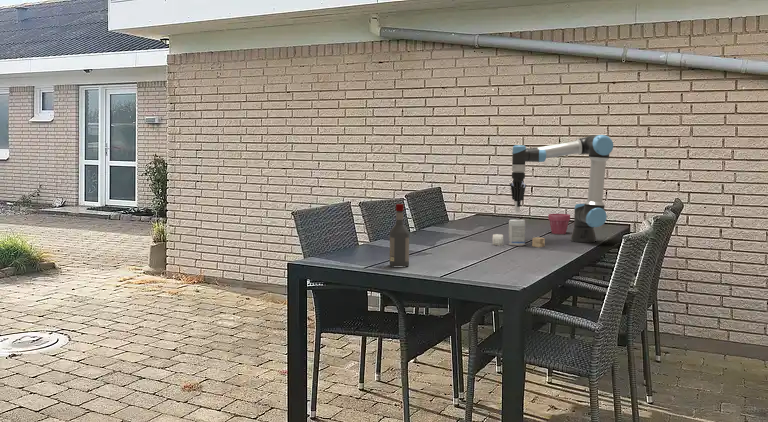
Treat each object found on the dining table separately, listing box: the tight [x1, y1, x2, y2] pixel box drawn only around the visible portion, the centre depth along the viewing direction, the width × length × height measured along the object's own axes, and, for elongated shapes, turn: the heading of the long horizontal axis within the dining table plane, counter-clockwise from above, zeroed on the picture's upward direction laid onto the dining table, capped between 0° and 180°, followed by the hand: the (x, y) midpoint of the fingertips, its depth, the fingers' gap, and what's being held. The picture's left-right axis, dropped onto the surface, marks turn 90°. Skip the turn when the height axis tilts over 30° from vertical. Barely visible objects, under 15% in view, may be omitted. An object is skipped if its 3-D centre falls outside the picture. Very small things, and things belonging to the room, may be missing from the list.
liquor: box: [389, 203, 410, 267], centre depth 345 cm, size 9×9×30 cm
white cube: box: [492, 233, 504, 247], centre depth 420 cm, size 6×6×6 cm
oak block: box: [531, 236, 546, 248], centre depth 415 cm, size 5×5×5 cm
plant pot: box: [547, 213, 571, 235], centre depth 474 cm, size 14×14×13 cm
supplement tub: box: [508, 219, 526, 247], centre depth 420 cm, size 10×10×15 cm
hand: (517, 212), depth 418 cm, fingers closed
